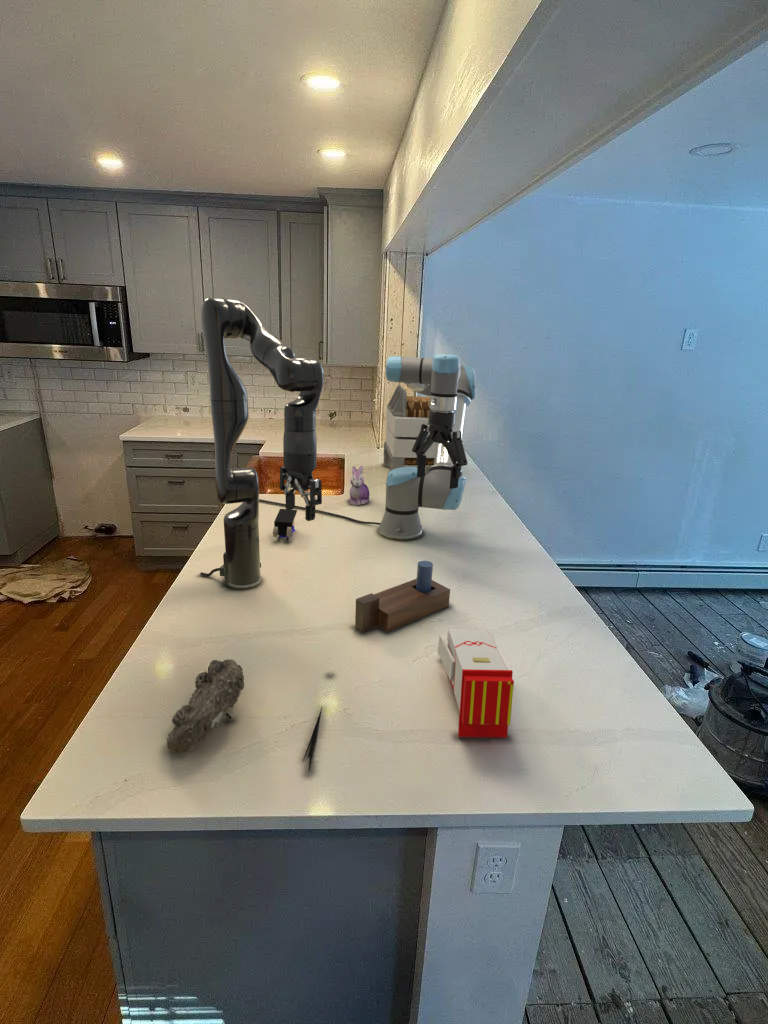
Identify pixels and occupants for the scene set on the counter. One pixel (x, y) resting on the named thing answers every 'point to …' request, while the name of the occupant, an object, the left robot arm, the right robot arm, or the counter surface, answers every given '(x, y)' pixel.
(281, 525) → the figurine character
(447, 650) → the toy
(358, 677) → the counter surface
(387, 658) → the counter surface
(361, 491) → the figurine
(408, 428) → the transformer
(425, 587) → the peg
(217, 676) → the fossil
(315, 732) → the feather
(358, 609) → the peg block
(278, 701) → the counter surface
